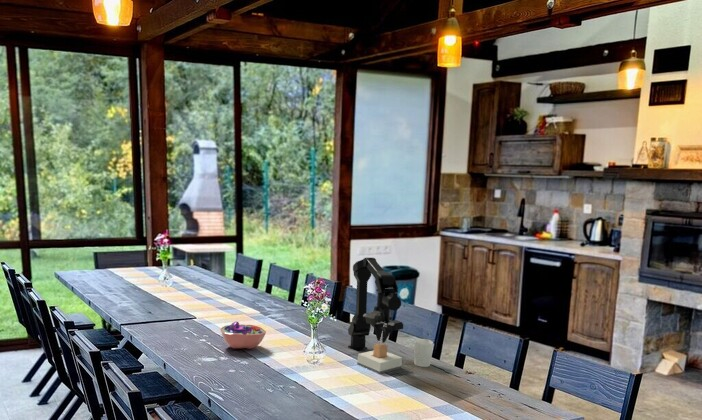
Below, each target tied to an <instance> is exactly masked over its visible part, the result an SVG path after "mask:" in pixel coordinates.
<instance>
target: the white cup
mask: <svg viewBox="0 0 702 420" xmlns="http://www.w3.org/2000/svg"><path fill="white" fill-rule="evenodd" d="M413 347H414V349H413V350H414V352H413V357H414V358H413V360H414V361H413V363H414V365H415V366H416V367H421V368H428V367H430V366H431V361H432V360H431V359H432V355H433V349H434V348H433V347H434V342H433V340H430V339H426V338H417V339H415V340H414V346H413Z"/></svg>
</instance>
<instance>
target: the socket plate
mask: <svg viewBox="0 0 702 420" xmlns="http://www.w3.org/2000/svg"><path fill="white" fill-rule="evenodd" d="M373 351H374V349H373V350H369V351H366V352H361V353H360V352H359V353H358V354H357V366H360V367H362V368H364V369H366V368H367V369H366V370H369V371H371V372H374V373H376V374H378V375H381V374H385V373H388V372H393V371H396V370H399V369H402V366H403V365H402V364H403V357H402V356H399V355H396V354H393V353H391V352H388V351H387V357H384V358H380V359H379V358H376V357H374V356H373Z"/></svg>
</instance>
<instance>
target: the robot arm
mask: <svg viewBox="0 0 702 420" xmlns="http://www.w3.org/2000/svg"><path fill="white" fill-rule="evenodd" d="M352 271H353V276H354V278H355V280H356V297H355V298H356V299H355V300H356V301H355V303H356V305H355V313H354V315H353V316H352V319H351V323H350V325H349V326H348V328H347V333H348V335H349V336H350V344H349V345H348V346H347V347H348V348H350V349H353V350H354V351H361V350H365V349H366V350H367V349H368V347H367V346H366V342H367V341H366V336H370V332H371V328H373V329H374V332H375V337H376V340H377V342H378V341H382V344H384V343H385V342H386V341H387V340H388V337H389V336H390V334H391V332H393V331H400V330H404V323H403V321H399V320H397V319H396V320H392V319H393V317H392V316H391V311H398V310H400V308H401V306H402V301H401V298H400V297H399V296H398V293H399V291H398V290H399V287H398V284H397V281H396V278H395V276H394V274H392V273H391V272H389V271H385V270H384V268H383V267H381V265H380V264H379V263H378V261H377V259H376V258H375V257H363V259H361V260H358V261H356V262H355V263H354V264H353V265H352ZM372 276H373V277H374V279H375V280H374V283H375V285H376V288H377V289H376V292H377V298H376V306H374V307H373V310H372V311H370V312H367V310H368V309H367V307H368V302H367V301H368V282H369V280H370V278H371V277H372Z"/></svg>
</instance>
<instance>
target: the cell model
mask: <svg viewBox="0 0 702 420" xmlns="http://www.w3.org/2000/svg"><path fill="white" fill-rule="evenodd" d="M219 331H220V332H221V335H222V339H223V341H224V342H225V343H226V344H227V345H228V346H229V347H230V348H232V349H235V350H236V349H247V350H249V349H250V350H251V349H254V348H257V346H258V345H260V344H261V343H262V341H263V340H264V338H265V336H266V333H267V331H266V330H265V329H264V328H263V327H261V326H258V325H254V324H240V323H239V321H234V322H232V323H231V324H228V325H227V324H226V325H224V326H221V328H220V330H219Z"/></svg>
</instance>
